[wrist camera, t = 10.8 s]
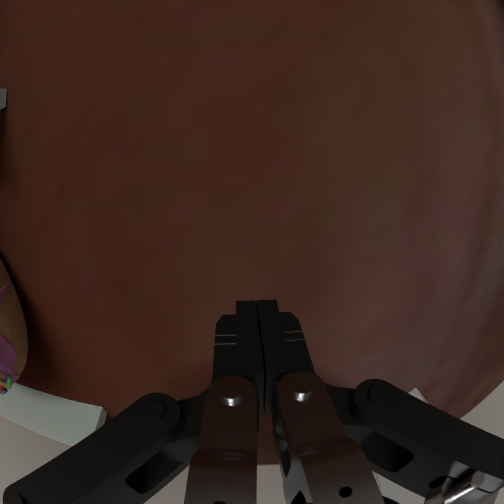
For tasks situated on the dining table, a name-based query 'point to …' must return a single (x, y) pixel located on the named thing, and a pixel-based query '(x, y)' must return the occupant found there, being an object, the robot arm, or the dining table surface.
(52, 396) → the box
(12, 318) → the donut
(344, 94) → the dining table surface
